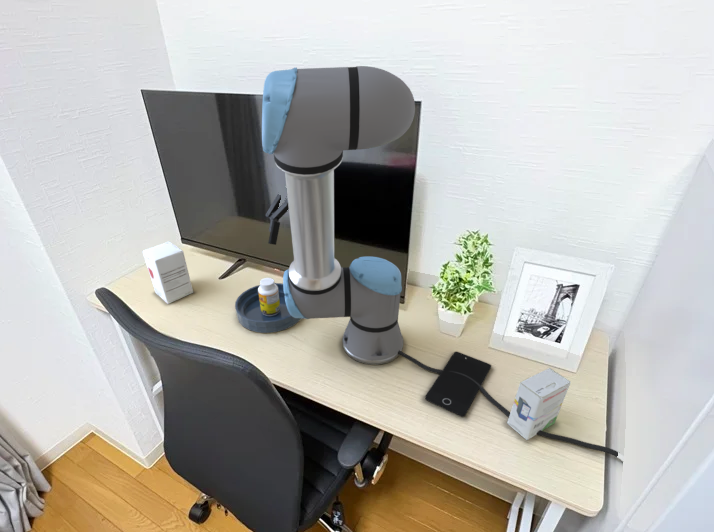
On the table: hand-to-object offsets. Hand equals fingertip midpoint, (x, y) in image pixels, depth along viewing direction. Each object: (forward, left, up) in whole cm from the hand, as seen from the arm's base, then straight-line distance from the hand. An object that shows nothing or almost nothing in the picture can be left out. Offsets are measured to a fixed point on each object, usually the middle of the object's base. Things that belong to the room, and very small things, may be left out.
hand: (291, 248), depth 116 cm
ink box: (-70, +7, -17) cm, 72 cm away
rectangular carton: (+32, +20, -17) cm, 42 cm away
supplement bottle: (0, +10, -16) cm, 19 cm away
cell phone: (-54, +5, -16) cm, 56 cm away
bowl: (0, +10, -16) cm, 19 cm away
